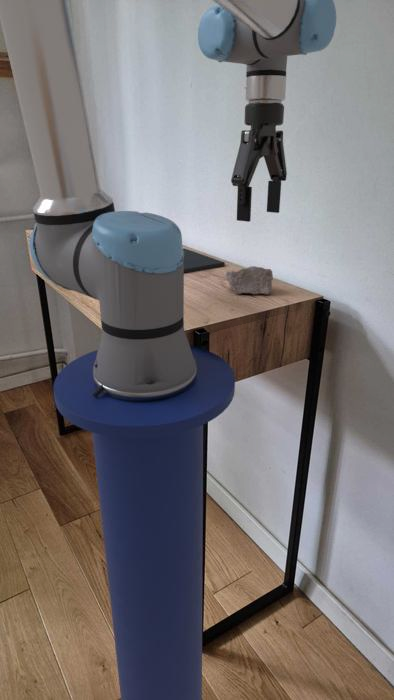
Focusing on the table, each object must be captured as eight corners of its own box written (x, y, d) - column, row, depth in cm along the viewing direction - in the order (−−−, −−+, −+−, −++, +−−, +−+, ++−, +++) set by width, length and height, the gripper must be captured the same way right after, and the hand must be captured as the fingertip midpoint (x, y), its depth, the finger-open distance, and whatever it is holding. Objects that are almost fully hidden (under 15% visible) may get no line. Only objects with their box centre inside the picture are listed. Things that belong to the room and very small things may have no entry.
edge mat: (224, 266, 127) (224, 262, 127) (179, 273, 120) (179, 269, 120) (184, 251, 143) (184, 248, 142) (142, 257, 136) (142, 254, 135)
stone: (274, 287, 110) (276, 262, 107) (268, 298, 103) (270, 271, 100) (232, 284, 112) (233, 259, 110) (223, 294, 105) (224, 268, 103)
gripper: (274, 106, 104) (268, 207, 113) (214, 100, 85) (212, 223, 94) (307, 105, 100) (298, 210, 109) (252, 98, 81) (246, 226, 90)
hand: (258, 216), depth 101 cm, fingers open, 13 cm apart
